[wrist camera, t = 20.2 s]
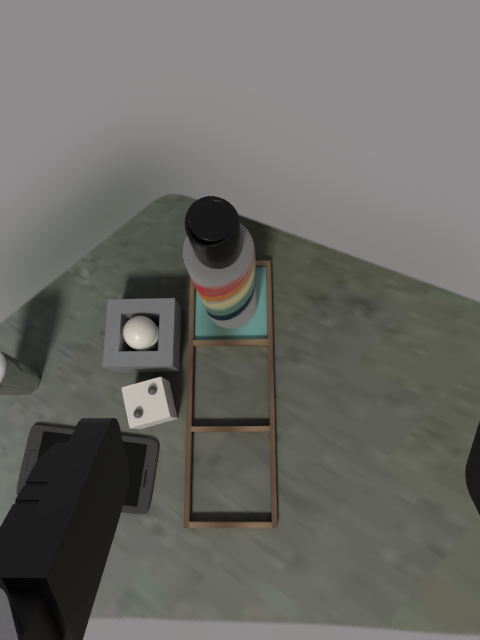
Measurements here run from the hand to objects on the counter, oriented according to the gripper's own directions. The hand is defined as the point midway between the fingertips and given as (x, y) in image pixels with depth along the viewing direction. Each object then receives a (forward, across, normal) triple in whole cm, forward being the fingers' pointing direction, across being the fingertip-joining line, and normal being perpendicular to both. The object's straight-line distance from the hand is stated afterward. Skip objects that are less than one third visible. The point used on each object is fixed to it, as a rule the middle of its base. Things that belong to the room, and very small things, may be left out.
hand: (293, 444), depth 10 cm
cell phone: (+24, +19, +28) cm, 42 cm away
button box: (+34, +13, +18) cm, 40 cm away
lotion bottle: (+36, +4, +16) cm, 40 cm away
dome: (+33, +13, +18) cm, 40 cm away
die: (+28, +12, +23) cm, 39 cm away
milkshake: (+31, +26, +21) cm, 46 cm away
